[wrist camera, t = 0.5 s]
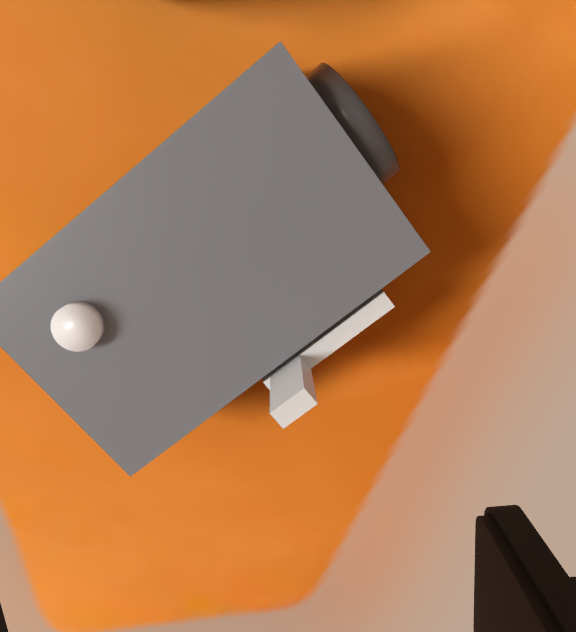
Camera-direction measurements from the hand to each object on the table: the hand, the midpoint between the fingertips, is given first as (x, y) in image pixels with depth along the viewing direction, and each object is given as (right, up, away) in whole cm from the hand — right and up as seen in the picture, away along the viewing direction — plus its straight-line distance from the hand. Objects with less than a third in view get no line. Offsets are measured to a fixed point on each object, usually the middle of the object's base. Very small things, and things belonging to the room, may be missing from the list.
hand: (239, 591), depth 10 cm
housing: (-4, +9, +25) cm, 27 cm away
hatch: (+3, +6, +25) cm, 26 cm away
